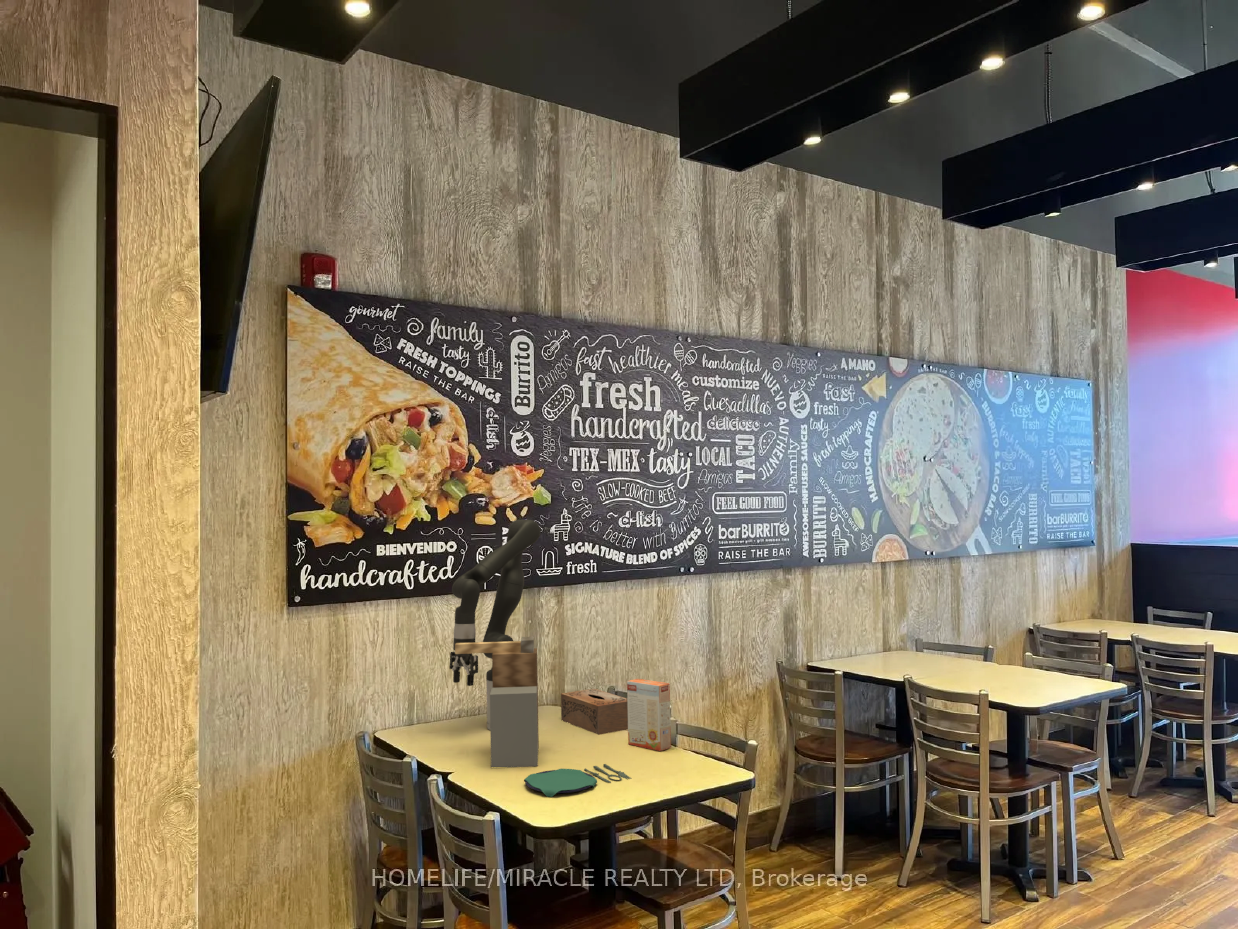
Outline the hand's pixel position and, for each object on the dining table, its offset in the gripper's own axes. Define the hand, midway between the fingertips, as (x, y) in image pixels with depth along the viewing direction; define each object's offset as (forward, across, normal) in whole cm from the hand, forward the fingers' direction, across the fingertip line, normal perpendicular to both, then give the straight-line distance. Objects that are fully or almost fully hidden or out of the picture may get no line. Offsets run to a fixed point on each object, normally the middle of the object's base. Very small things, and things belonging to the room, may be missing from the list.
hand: (463, 684), depth 310 cm
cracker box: (+16, -56, -35) cm, 68 cm away
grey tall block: (+18, -39, +6) cm, 43 cm away
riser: (+18, -30, -2) cm, 34 cm away
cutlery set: (+19, -68, +5) cm, 70 cm away
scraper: (-14, -25, +5) cm, 29 cm away
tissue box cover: (+16, -22, -43) cm, 51 cm away
